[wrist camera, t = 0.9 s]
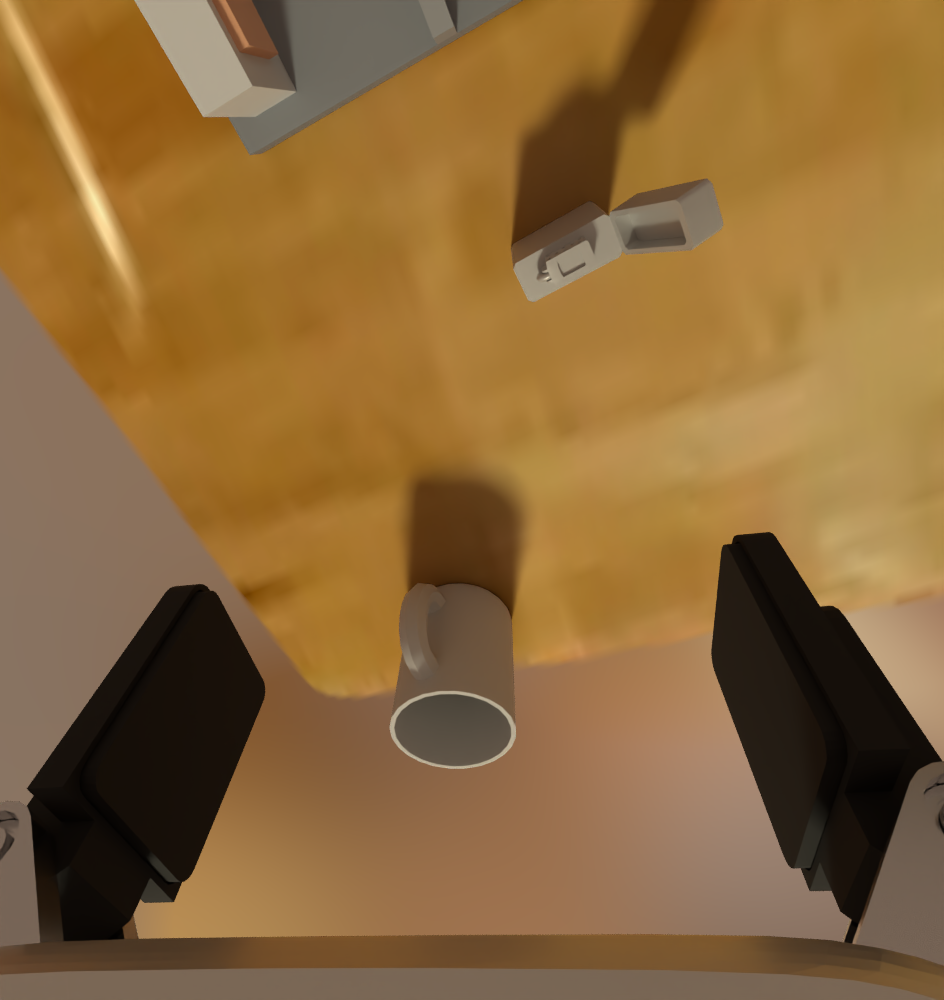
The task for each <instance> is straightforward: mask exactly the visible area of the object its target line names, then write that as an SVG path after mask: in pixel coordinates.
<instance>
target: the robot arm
mask: <svg viewBox="0 0 944 1000" xmlns="http://www.w3.org/2000/svg"><path fill="white" fill-rule="evenodd" d="M711 654H712V663H713V667H714V671H715V674H716V676H717V679H718V682H719V684H720V687H721V690H722V692H723V695H724V697H725V700H726V703H727V706H728V708H729V711H730V713H731V716H732V719H733V722H734V724H735V727H736V730H737V732H738V735H739V738H740V740H741V743H742V746H743V748H744V751H745V754H746V757H747V759H748V762H749V764H750V767H751V770H752V772H753V775H754V778H755V781H756V783H757V786H758V789H759V791H760V794H761V796H762V799H763V802H764V805H765V807H766V810H767V813H768V815H769V818H770V821H771V823H772V826H773V829H774V831H775V834H776V837H777V839H778V842H779V845H780V847H781V850H782V853H783V855H784V857H785V860H786V862H787V863H788V865H789V866H790V867H791V868H801V870H802V873H803V875H804V878H805V880H806V883H807V885H808V888H809V890H810V891H832V893H833V895H834V897H835V899H836V902H837V904H838V907H839V909H840V911H841V912H842V913H843V914H845V915H846V916H847V917H849V918H850V920H849V923H848V926H847V929H846V932H845V934H844V937H843V940H842V942H838V941H832V940H819V939H803V938H787V937H772V936H729V935H728V936H726V935H661V934H655V935H654V934H627V935H626V934H616V935H615V934H614V935H613V934H612V935H611V934H610V935H609V934H607V935H605V934H602V935H427V936H426V935H422V936H421V935H415V936H315V937H314V936H311V937H309V936H308V937H238V938H237V937H236V938H235V937H231V938H165V939H164V938H163V939H138V934H137V929H136V925H135V920H134V915H133V914H134V911H135V909H136V907H137V905H138V903H139V901H140V899H141V900H142V901H143V902H144V903H148V902H149V903H152V902H153V903H154V902H174V900H175V898H176V895H177V893H178V891H179V888H180V886H181V883H182V882H184V881H185V880H187V879H188V878H189V877H190V875H191V874H192V872H193V870H194V868H195V865H196V863H197V861H198V859H199V856H200V854H201V851H202V849H203V846H204V844H205V841H206V839H207V837H208V834H209V832H210V829H211V827H212V825H213V822H214V820H215V817H216V815H217V812H218V810H219V808H220V805H221V803H222V800H223V798H224V795H225V793H226V791H227V788H228V786H229V783H230V781H231V778H232V776H233V774H234V771H235V769H236V766H237V764H238V761H239V759H240V756H241V754H242V752H243V749H244V746H245V744H246V742H247V739H248V737H249V735H250V732H251V730H252V727H253V725H254V722H255V720H256V717H257V715H258V713H259V710H260V708H261V705H262V703H263V700H264V696H265V685H264V681H263V679H262V677H261V675H260V673H259V672H258V670H257V668H256V666H255V664H254V662H253V660H252V658H251V656H250V655H249V653H248V651H247V649H246V647H245V645H244V643H243V642H242V640H241V638H240V636H239V634H238V632H237V630H236V629H235V627H234V625H233V623H232V621H231V619H230V617H229V615H228V614H227V612H226V610H225V608H224V606H223V604H222V602H221V600H220V598H219V596H218V595H217V594H216V593H215V592H214V591H210V590H209V589H208V587H207V586H205V585H203V584H196V585H186V586H175V587H172V588H170V589H169V590H168V591H167V592H166V593H165V594H164V596H163V597H162V598H161V600H160V601H159V603H158V604H157V606H156V607H155V608H154V610H153V611H152V613H151V614H150V615H149V617H148V618H147V620H146V621H145V622H144V624H143V625H142V627H141V628H140V629H139V631H138V632H137V634H136V636H135V637H134V638H133V639H132V641H131V642H130V644H129V645H128V646H127V648H126V649H125V651H124V652H123V654H122V655H121V657H120V658H119V659H118V661H117V662H116V664H115V665H114V666H113V668H112V669H111V670H110V672H109V673H108V675H107V676H106V678H105V679H104V680H103V682H102V683H101V685H100V686H99V687H98V689H97V690H96V692H95V693H94V694H93V696H92V698H91V699H90V700H89V702H88V703H87V704H86V706H85V707H84V709H83V710H82V712H81V713H80V714H79V716H78V717H77V719H76V720H75V721H74V723H73V724H72V726H71V727H70V728H69V730H68V731H67V733H66V734H65V736H64V737H63V738H62V740H61V741H60V743H59V744H58V745H57V747H56V748H55V750H54V751H53V752H52V754H51V755H50V757H49V758H48V760H47V761H46V762H45V764H44V765H43V767H42V768H41V769H40V771H39V772H38V774H37V775H36V777H35V778H34V780H33V781H32V782H31V784H30V785H29V786H28V788H27V789H28V790H29V791H30V792H31V793H32V794H33V795H34V796H33V798H32V799H31V801H30V802H29V804H28V805H27V806H25V805H24V804H22V803H21V802H16V801H5V802H2V803H0V1000H944V761H942V760H941V758H940V757H939V755H938V754H937V753H936V751H935V750H934V748H933V747H932V745H931V744H930V742H929V741H928V739H927V738H926V736H925V735H924V733H923V732H922V730H921V729H920V727H919V726H918V724H917V723H916V721H915V720H914V718H913V717H912V715H911V714H910V712H909V711H908V710H907V708H906V706H905V705H904V704H903V702H902V701H901V699H900V698H899V696H898V695H897V693H896V692H895V690H894V689H893V687H892V686H891V684H890V683H889V681H888V680H887V678H886V677H885V675H884V674H883V672H882V671H881V669H880V668H879V666H878V665H877V664H876V662H875V661H874V659H873V657H872V656H871V655H870V653H869V652H868V650H867V649H866V647H865V646H864V644H863V643H862V642H861V640H860V638H859V637H858V635H857V634H856V632H855V631H854V629H853V628H852V626H851V625H850V623H849V622H848V620H847V619H846V617H845V616H844V615H843V614H842V613H841V611H840V610H839V609H837V608H835V607H834V606H822V607H820V606H819V604H818V603H817V601H816V599H815V598H814V596H813V595H812V593H811V592H810V590H809V588H808V587H807V585H806V584H805V582H804V581H803V579H802V577H801V576H800V574H799V573H798V571H797V570H796V568H795V566H794V565H793V563H792V562H791V560H790V559H789V557H788V555H787V554H786V552H785V551H784V549H783V548H782V546H781V544H780V543H779V541H778V540H777V538H776V537H775V536H774V534H773V533H770V532H765V533H754V534H743V535H736V536H734V538H733V541H732V544H727V545H723V547H722V551H721V560H720V570H719V580H718V590H717V600H716V610H715V620H714V630H713V640H712V653H711Z"/></svg>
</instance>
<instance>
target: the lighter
mask: <svg viewBox="0 0 944 1000" xmlns="http://www.w3.org/2000/svg"><path fill="white" fill-rule="evenodd" d="M722 226H723V221H722V217H721V213H720V210H719V206H718V203H717V199H716V196H715V192H714V188H713V185H712V183H711V182H710V181H709V180H708V179H702V180H697V181H693V182H688V183H684V184H679V185H675V186H670V187H666V188H661V189H656V190H652V191H647V192H643V193H638V194H636V195H634V196H633V197H632V198H630V199H629V200H627V201H626V202H624V203H623V204H621V205H620V206H618V207H617V208H615V209H614V210H612V211H611V212H610V216H609V215H608V214H607V213H605V212H604V211H603V210H602V209H601V208H600V207H598V206H597V205H596V204H595V203H593V202H591V201H588V202H586V203H585V204H583V205H581V206H579V207H577V208H576V209H574V210H572V211H570V212H569V213H567V214H565V215H563V216H562V217H560V218H558V219H556V220H554V221H553V222H551V223H549V224H547V225H546V226H544V227H542V228H540V229H538V230H537V231H535V232H533V233H531V234H530V235H528V236H526V237H524V238H522V239H521V240H519V241H517V242H515V243H514V244H513V245H512V248H511V252H512V260H513V269H514V271H515V273H516V276H517V278H518V280H519V282H520V284H521V286H522V288H523V290H524V292H525V295H526V297H527V299H528V300H529V301H532V302H535V301H537V300H539V299H540V298H542V297H544V296H546V295H548V294H550V293H552V292H554V291H556V290H558V289H559V288H561V287H563V286H565V285H567V284H569V283H571V282H573V281H575V280H577V279H579V278H580V277H582V276H584V275H586V274H588V273H590V272H592V271H594V270H596V269H598V268H599V267H601V266H603V265H605V264H607V263H609V262H611V261H613V260H615V259H617V258H618V257H620V255H621V253H622V251H623V252H624V253H625V254H626V255H628V254H643V253H657V252H672V251H686V250H693V249H694V248H695V247H697V246H698V245H700V244H701V243H702V242H704V241H705V240H707V239H708V238H710V237H711V236H712V235H714V234H715V233H717V232H718V231H720V230H721V229H722Z"/></svg>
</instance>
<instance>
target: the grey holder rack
mask: <svg viewBox="0 0 944 1000" xmlns="http://www.w3.org/2000/svg"><path fill="white" fill-rule="evenodd" d="M521 1H522V0H135V2H136V4H137V5H138V7H139V9H140V10H141V12H142V14H143V16H144V17H145V19H146V21H147V22H148V24H149V26H150V27H151V29H152V31H153V33H154V34H155V36H156V38H157V39H158V41H159V43H160V44H161V46H162V48H163V50H164V51H165V53H166V55H167V56H168V58H169V60H170V61H171V63H172V65H173V67H174V68H175V70H176V72H177V73H178V75H179V77H180V78H181V80H182V82H183V84H184V85H185V87H186V89H187V90H188V92H189V94H190V95H191V97H192V99H193V101H194V102H195V104H196V106H197V107H198V109H199V111H200V112H201V114H202V116H203V117H229V119H230V121H231V123H232V124H233V126H234V128H235V130H236V131H237V133H238V135H239V137H240V138H241V140H242V142H243V144H244V146H245V147H246V149H247V151H248V153H249V154H250V155H254V154H261V153H263V152H265V151H267V150H268V149H270V148H272V147H274V146H275V145H277V144H279V143H280V142H282V141H284V140H286V139H287V138H289V137H291V136H292V135H294V134H296V133H297V132H299V131H301V130H303V129H304V128H306V127H308V126H309V125H311V124H313V123H314V122H316V121H318V120H320V119H321V118H323V117H325V116H326V115H328V114H330V113H332V112H333V111H335V110H337V109H338V108H340V107H342V106H343V105H345V104H347V103H349V102H350V101H352V100H354V99H355V98H357V97H359V96H361V95H362V94H364V93H366V92H367V91H369V90H371V89H372V88H374V87H376V86H378V85H379V84H381V83H383V82H384V81H386V80H388V79H389V78H391V77H393V76H395V75H396V74H398V73H400V72H401V71H403V70H405V69H407V68H408V67H410V66H412V65H413V64H415V63H417V62H418V61H420V60H422V59H424V58H425V57H427V56H429V55H430V54H432V53H434V52H435V51H437V50H439V49H441V48H442V47H444V46H446V45H447V44H449V43H451V42H453V41H454V40H456V39H458V38H459V37H461V36H463V35H464V34H466V33H468V32H470V31H471V30H473V29H475V28H476V27H478V26H480V25H482V24H483V23H485V22H487V21H488V20H490V19H492V18H493V17H495V16H497V15H499V14H500V13H502V12H504V11H505V10H507V9H509V8H510V7H512V6H514V5H516V4H517V3H519V2H521Z"/></svg>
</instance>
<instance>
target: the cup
mask: <svg viewBox="0 0 944 1000" xmlns="http://www.w3.org/2000/svg"><path fill="white" fill-rule="evenodd" d="M399 633H400V643H401V648H402V658H401V663H400V669H399V675H398V681H397V687H396V692H395V698H394V705H393V710H392V716H391V722H390V732H391V736H392V739H393V740H394V742H395V743H396V745H397V746H398V747H399V748H400V749H401V750H402V751H403V752H404V753H406V754H407V755H409V756H410V757H412V758H414V759H416V760H418V761H419V762H423V763H426V764H429V765H432V766H436V767H443V768H449V769H453V768H471V767H477V766H481V765H484V764H487V763H490V762H493V761H495V760H496V759H498V758H499V757H501V756H503V755H504V754H505V753H506V752H507V751H508V750H509V749H510V748H511V747H512V745H513V742H514V740H515V738H516V725H515V698H514V697H515V696H514V668H513V639H512V621H511V616H510V614H509V611H508V609H507V607H506V606H505V605H504V603H503V602H502V601H501V600H500V599H499V598H498V597H497V596H495V595H494V594H492V593H491V592H490V591H488V590H486V589H483V588H481V587H478V586H476V585H470V584H465V583H456V584H447V585H442V586H438V587H435V586H434V585H433V584H423V583H417V584H416V585H415V586H414V587H413V588H412V589H411V590H410V591H409V592H408V593H407V594H406V595H405V597H404V600H403V602H402V606H401V612H400V622H399Z"/></svg>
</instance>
